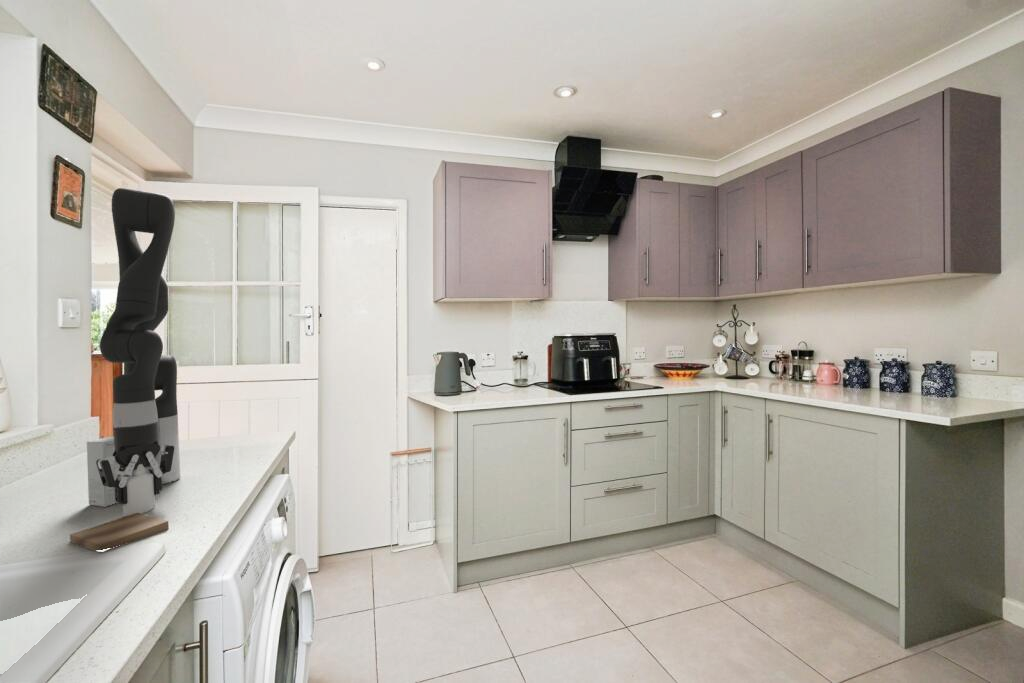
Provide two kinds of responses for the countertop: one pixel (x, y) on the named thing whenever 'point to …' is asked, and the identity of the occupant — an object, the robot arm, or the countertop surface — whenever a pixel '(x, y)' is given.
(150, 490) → the eye dropper bottle
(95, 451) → the skincare box
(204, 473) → the countertop surface
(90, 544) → the walnut board
